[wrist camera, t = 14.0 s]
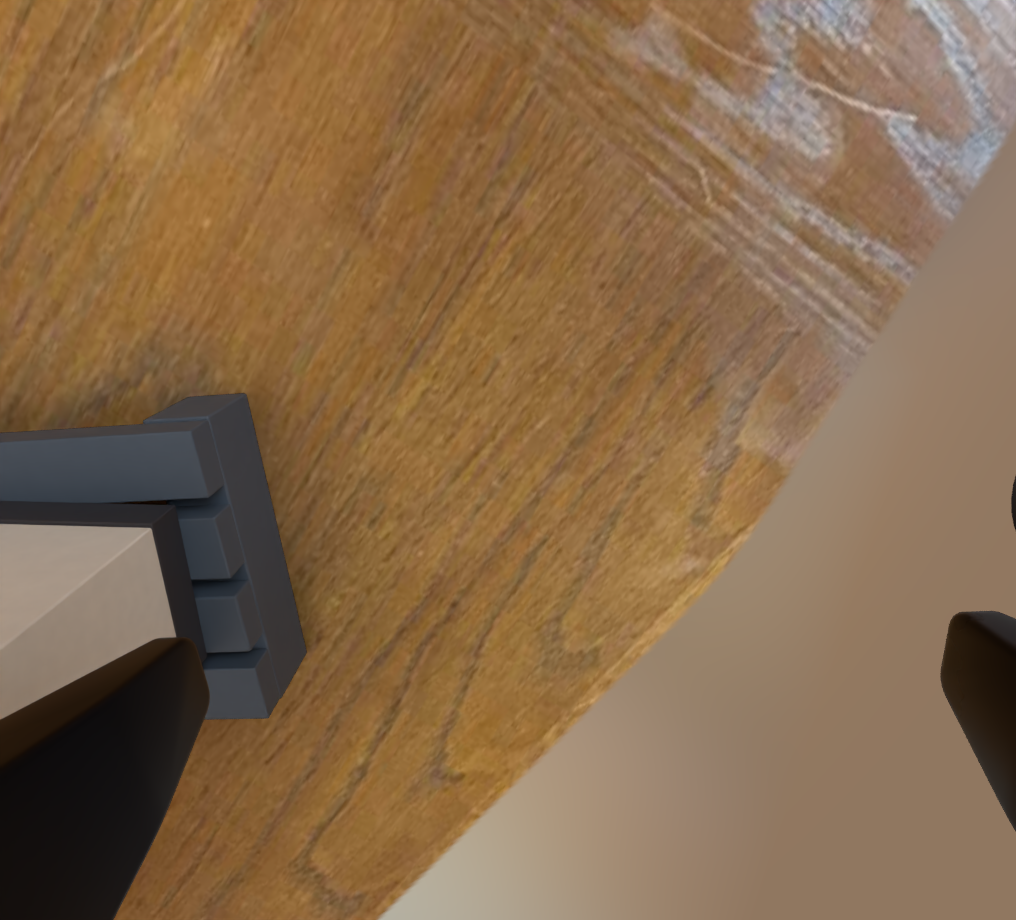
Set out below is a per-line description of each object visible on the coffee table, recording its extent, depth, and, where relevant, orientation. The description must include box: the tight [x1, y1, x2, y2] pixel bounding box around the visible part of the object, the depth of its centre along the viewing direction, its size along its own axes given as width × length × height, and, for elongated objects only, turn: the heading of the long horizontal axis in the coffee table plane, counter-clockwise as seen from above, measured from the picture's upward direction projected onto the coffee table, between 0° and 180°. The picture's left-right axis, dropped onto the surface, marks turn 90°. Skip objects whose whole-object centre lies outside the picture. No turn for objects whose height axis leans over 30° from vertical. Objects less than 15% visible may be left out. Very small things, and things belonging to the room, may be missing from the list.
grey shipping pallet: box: [0, 393, 307, 720], centre depth 22 cm, size 16×10×4 cm, turn 95°
